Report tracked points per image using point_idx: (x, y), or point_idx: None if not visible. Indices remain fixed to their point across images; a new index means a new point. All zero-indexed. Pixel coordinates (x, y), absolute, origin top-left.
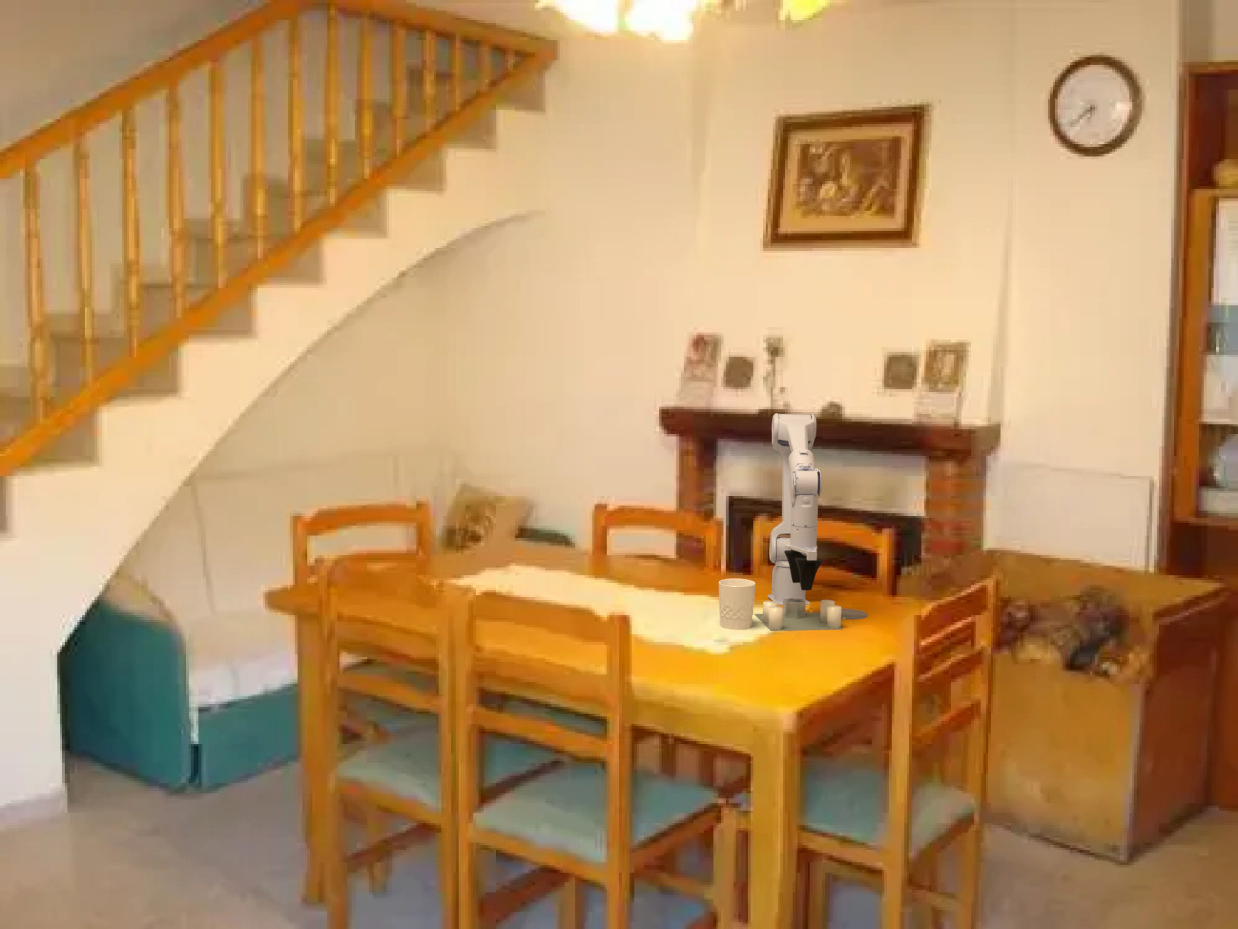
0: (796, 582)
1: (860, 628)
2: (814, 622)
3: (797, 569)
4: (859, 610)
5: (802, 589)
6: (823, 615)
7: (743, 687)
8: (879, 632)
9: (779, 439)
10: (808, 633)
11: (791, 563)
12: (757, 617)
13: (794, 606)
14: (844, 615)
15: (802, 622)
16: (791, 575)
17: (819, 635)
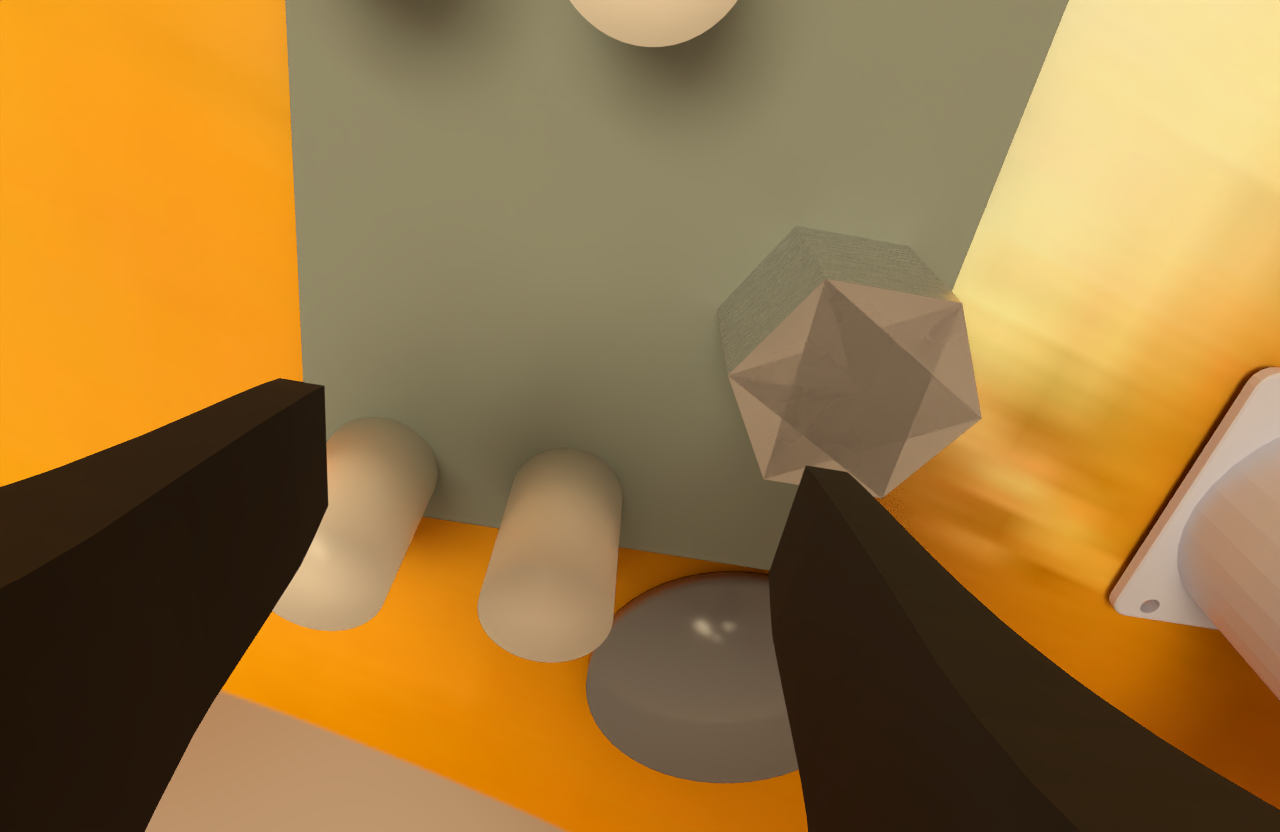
0: (795, 512)
1: (388, 618)
2: (553, 393)
3: (846, 685)
4: (772, 776)
5: (263, 386)
6: (525, 489)
7: None
8: (275, 669)
9: None
10: (254, 199)
11: (930, 700)
12: None
13: (749, 336)
14: (678, 659)
15: (575, 297)
16: (864, 519)
17: (182, 263)
